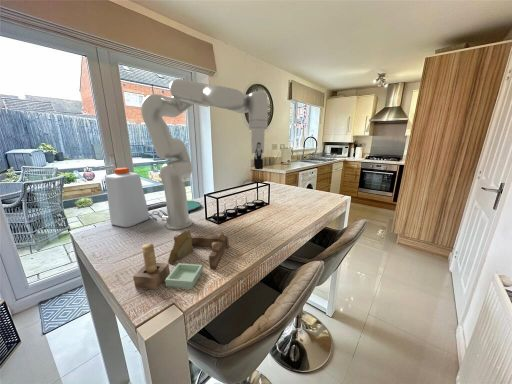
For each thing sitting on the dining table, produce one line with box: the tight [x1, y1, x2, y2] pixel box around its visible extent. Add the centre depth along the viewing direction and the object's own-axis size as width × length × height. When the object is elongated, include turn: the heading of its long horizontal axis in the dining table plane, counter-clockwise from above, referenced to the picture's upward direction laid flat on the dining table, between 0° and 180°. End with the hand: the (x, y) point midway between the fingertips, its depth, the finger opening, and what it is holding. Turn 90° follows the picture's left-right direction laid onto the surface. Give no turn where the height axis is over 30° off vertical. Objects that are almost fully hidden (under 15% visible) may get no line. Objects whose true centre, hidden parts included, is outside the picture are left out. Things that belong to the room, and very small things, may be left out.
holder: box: [133, 262, 171, 291], centre depth 65 cm, size 7×7×4 cm
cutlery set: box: [149, 200, 202, 221], centre depth 126 cm, size 20×30×2 cm, turn 132°
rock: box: [167, 230, 194, 265], centre depth 77 cm, size 11×9×10 cm
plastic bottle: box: [104, 167, 150, 228], centre depth 108 cm, size 15×15×28 cm
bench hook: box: [173, 232, 230, 271], centre depth 78 cm, size 22×16×7 cm
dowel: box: [141, 243, 157, 274], centre depth 64 cm, size 3×3×12 cm
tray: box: [164, 262, 204, 290], centre depth 65 cm, size 8×8×2 cm
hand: (258, 167), depth 90 cm, fingers open, 9 cm apart
